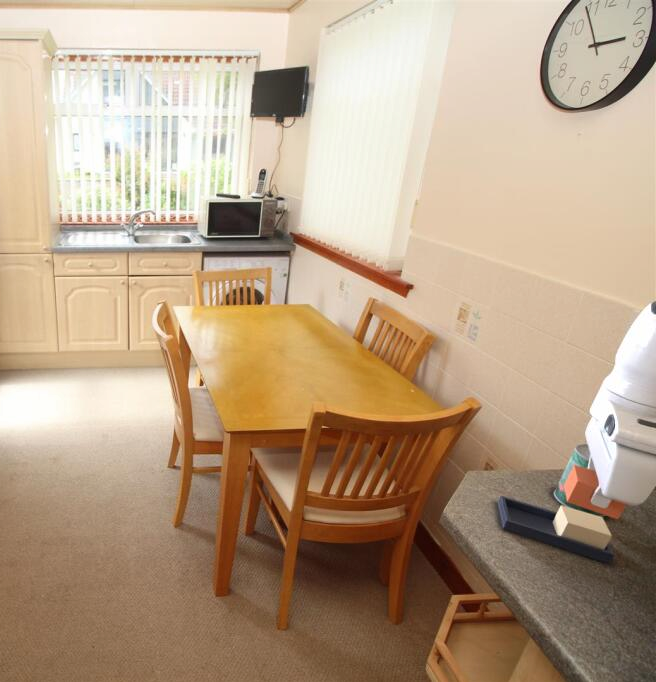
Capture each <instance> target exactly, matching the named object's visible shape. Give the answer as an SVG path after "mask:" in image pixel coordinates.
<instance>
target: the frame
mask: <svg viewBox="0 0 656 682" xmlns="http://www.w3.org/2000/svg"><path fill="white" fill-rule="evenodd" d="M497 508H498V512H499V516H500V522H501V526H502V530H504V531H507V532H511V533H514V534H517V535H520V536H523V537H525V538H528V539H532V540H534V541H537V542H541V543H544V544H546V545H547V544H548V545H551V546H554V547H557V548H560V549H563V550H566V551H568V552H572V553H575V554H577V555H581V556H584V557H587V558H590V559H594V560H596V561H600V562H603V563H606V564H609V565H610V564H611V563H612V560H613V558H614V556H615V553H614V551H613V549H612V547H611V544H610V542H608V544H607V546H606V548H605V549H600V548H597V547H594V546H591V545H588V544H585V543H582V542H578V541H575V540H572V539H569V538H566V537H563V536H560V535H557V533H556V530H555V528H554V525H553V521H554V518H555V516H556V514H557V512H558V511H554V510H551V509H547V508H544V507H540V506H537V505H534V504H530V503H527V502H523V501H520V500H517V499H514V498H510V497H507V496H503V495H500V496H499V498H498V501H497Z"/></svg>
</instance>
